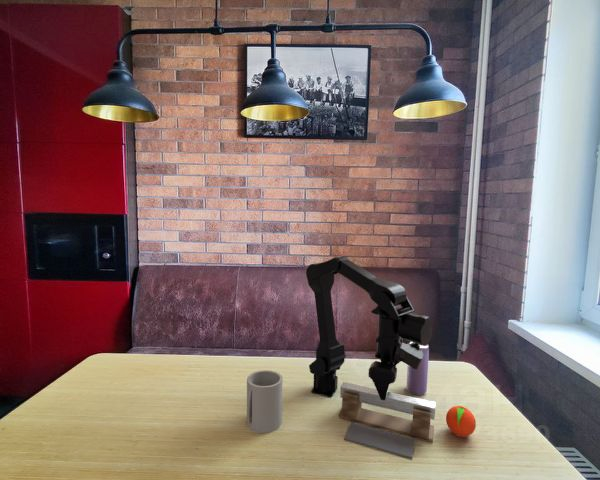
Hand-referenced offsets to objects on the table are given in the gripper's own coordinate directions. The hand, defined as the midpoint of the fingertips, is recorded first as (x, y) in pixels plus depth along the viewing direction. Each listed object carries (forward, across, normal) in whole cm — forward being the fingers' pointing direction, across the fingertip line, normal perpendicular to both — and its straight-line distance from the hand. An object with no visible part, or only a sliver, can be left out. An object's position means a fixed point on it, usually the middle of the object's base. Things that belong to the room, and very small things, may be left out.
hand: (386, 391), depth 93 cm
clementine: (+9, +3, -18) cm, 21 cm away
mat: (+9, -8, 0) cm, 12 cm away
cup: (+9, -13, +29) cm, 33 cm away
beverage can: (+9, +21, -6) cm, 24 cm away
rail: (+4, 0, 0) cm, 4 cm away
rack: (+9, 0, 0) cm, 9 cm away
